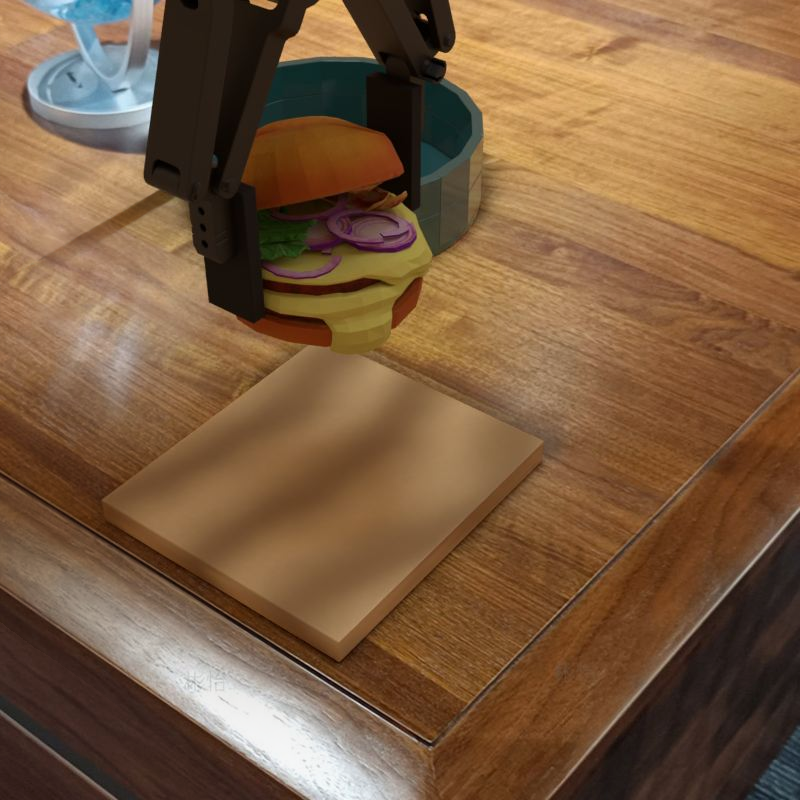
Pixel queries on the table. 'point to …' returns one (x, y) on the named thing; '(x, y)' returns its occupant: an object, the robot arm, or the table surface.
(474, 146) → the bowl
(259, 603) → the board
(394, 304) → the cheeseburger
